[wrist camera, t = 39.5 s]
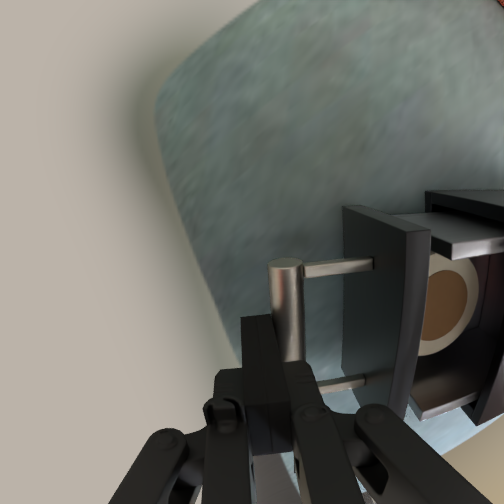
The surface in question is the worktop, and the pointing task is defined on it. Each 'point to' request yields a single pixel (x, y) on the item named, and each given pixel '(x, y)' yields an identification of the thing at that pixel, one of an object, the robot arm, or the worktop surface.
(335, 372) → the worktop surface
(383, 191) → the worktop surface
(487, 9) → the worktop surface
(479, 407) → the box
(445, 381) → the black pull-out drawer
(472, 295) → the cream cylinder brown top
